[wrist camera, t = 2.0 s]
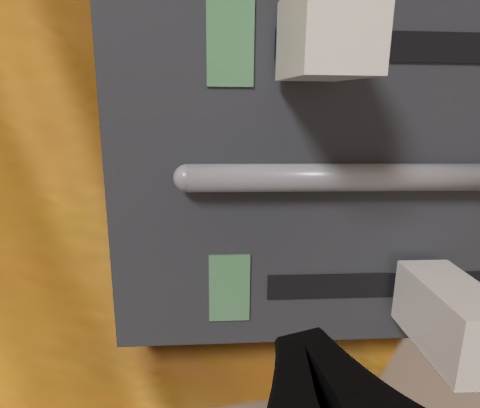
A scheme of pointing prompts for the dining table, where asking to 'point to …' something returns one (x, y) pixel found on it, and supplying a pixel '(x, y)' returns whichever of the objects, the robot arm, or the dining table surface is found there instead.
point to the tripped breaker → (441, 318)
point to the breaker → (333, 39)
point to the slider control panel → (279, 171)
